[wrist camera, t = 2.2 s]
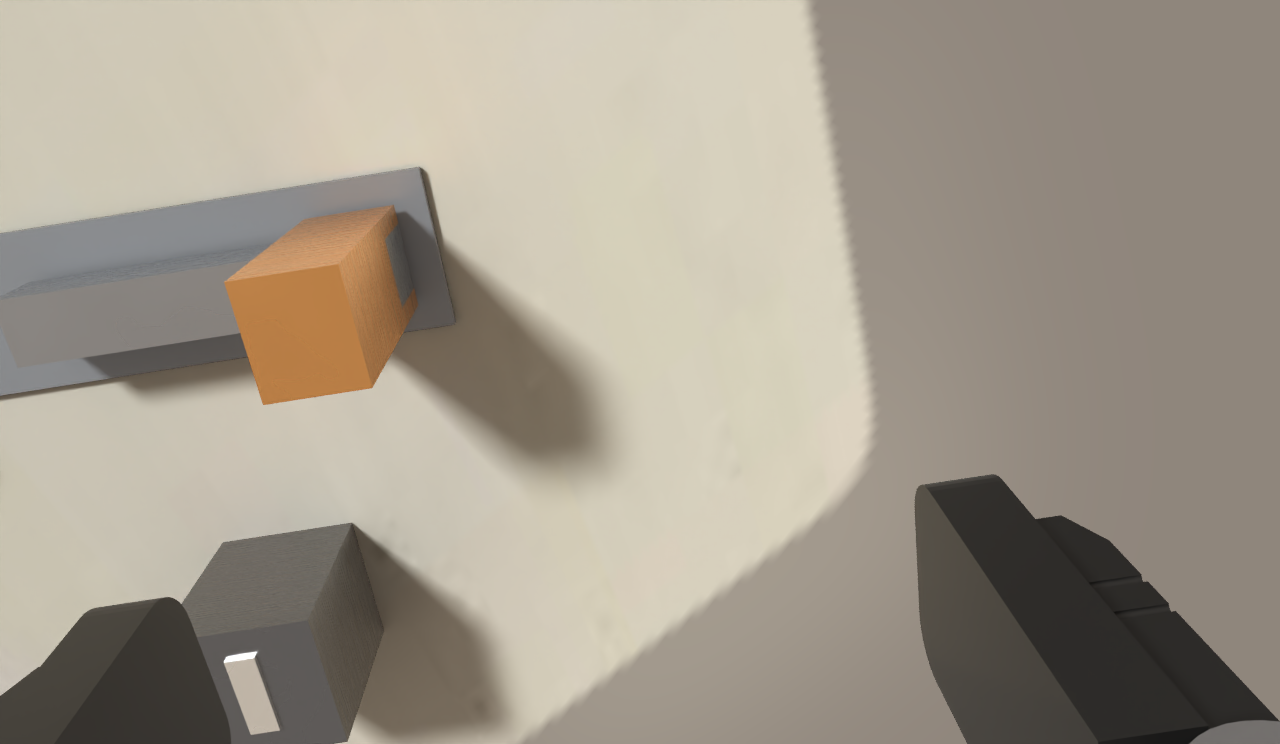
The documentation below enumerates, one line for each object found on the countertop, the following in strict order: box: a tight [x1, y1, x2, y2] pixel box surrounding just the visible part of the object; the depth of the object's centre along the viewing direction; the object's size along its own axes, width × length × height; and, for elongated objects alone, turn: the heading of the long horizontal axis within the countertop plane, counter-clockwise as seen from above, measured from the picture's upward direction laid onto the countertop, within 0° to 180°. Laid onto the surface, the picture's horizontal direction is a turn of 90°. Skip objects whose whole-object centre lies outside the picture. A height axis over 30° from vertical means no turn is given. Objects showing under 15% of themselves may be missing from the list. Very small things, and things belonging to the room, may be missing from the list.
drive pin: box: [0, 205, 418, 405], centre depth 23 cm, size 3×10×6 cm, turn 99°
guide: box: [0, 167, 456, 396], centre depth 27 cm, size 4×15×1 cm, turn 98°
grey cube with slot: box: [181, 523, 384, 744], centre depth 28 cm, size 4×4×5 cm
